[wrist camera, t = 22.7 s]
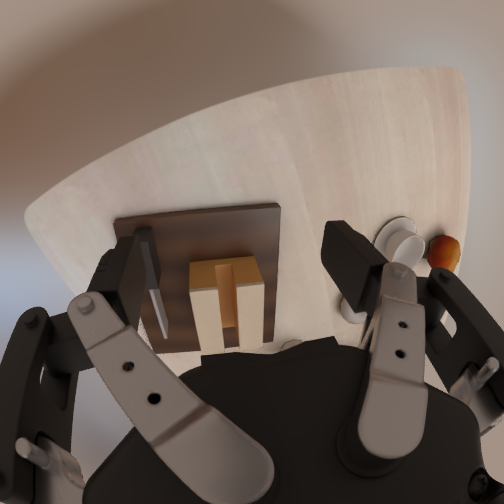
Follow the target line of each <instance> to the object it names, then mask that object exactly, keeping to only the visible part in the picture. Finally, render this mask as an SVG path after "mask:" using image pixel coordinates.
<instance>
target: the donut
mask: <svg viewBox="0 0 504 504" xmlns="http://www.w3.org/2000/svg"><path fill="white" fill-rule="evenodd" d="M341 314H342V316H343V318H344V319H345V320H346V321H347V322H349V323H352V324H362V323H364V321H365V318H366V315H367V313H366V312H361V313H356V314H355V313H354V312H353V310H352V309H351V307H350V305H349V304H348V302H347V301H346V299H345V298H343V300H342V303H341Z"/></svg>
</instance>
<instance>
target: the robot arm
mask: <svg viewBox="0 0 504 504" xmlns="http://www.w3.org/2000/svg"><path fill="white" fill-rule="evenodd" d="M321 260H322V264H323V266H324V267H325V269H326V270H327V272H328V273H329V275H330V276H331V278H332V279H333V281H334V282H335V284H336V285H337V287H338V288H339V290H340V291H341V293H342V295H343V296H344V298H345V299H346V301H347V302H348V304H349V305H350V307H351V309H352V310H353V312H354V313H355V314H356V313H361V312H366V313H367V315H366V318H365V321H364V325H363V329H362V334H361V338H360V342H359V346H358V348H357V347H352V346H346V345H338V343H337V341H336V339H335V337H334V336H331V337H326V338H321V339H316V340H311V341H305V342H302V343H300V344H298V345H295V346H293V347H291V348H288V349H286V350H283V351H281V352H278V353H275V354H254V353H241V352H232V353H222V354H212V355H201V365H202V366H199V367H196V368H193V369H191V370H189V371H187V372H185V373H183V374H181V375H180V376H179V377H177V376H176V375H175V374H174V373H173V372H172V371H171V370H170V369H169V368H168V367H167V366H166V364H165V363H164V362H163V361H162V360H161V359H160V358H159V357H158V356H157V355H156V354H155V353H154V351H153V350H152V349H151V348H150V347H149V346H148V345H147V344H146V342H145V341H144V340H143V339H142V338H141V337H140V335H139V334H138V333H137V331H138V325H139V318H140V312H141V306H142V301H143V295H144V290H145V285H146V267H145V263H144V258H143V254H142V249H141V244H140V240H139V237H138V235H130V236H121V237H120V238H119V240H118V242H117V244H116V246H115V249H109V250H108V251H107V252H106V253H105V254H104V255H103V256H102V257H101V260H100V262H99V264H98V266H97V268H96V270H95V273H94V275H93V277H92V280H91V282H90V284H89V287H88V289H87V291H86V292H85V293H82V294H80V295H78V296H76V297H75V298H74V299H73V300H72V301H71V302H70V304H69V306H68V309H67V312H65V313H62V314H58V315H55V316H51V317H49V315H48V313H47V311H46V310H45V309H44V308H42V307H33V308H31V309H29V310H27V311H25V312H24V313H23V314H22V315H21V316H20V318H19V319H18V321H17V323H16V326H15V328H14V330H13V333H12V335H11V338H10V340H9V342H8V345H7V348H6V351H5V353H4V356H3V359H2V362H1V364H0V502H2V503H5V504H504V484H502V483H500V482H498V481H496V480H494V479H493V478H492V477H490V476H489V474H488V473H487V471H486V469H485V467H484V463H483V458H482V452H481V443H480V436H483V435H484V434H486V433H487V432H488V431H489V430H491V429H492V428H493V427H495V426H496V425H497V424H498V423H499V422H501V421H502V420H503V419H504V331H503V330H502V329H501V327H500V326H499V325H498V324H497V322H496V321H495V320H494V319H493V317H492V316H491V315H490V314H489V313H488V311H487V310H486V309H485V308H484V306H483V305H482V304H481V303H480V302H479V301H478V300H477V298H476V297H475V296H474V295H473V294H472V293H471V291H470V290H468V288H467V287H466V286H465V285H464V284H463V283H462V282H461V281H460V279H459V278H458V277H457V276H456V275H455V274H454V273H452V272H451V271H450V270H448V269H445V268H442V267H434V268H432V269H431V272H430V274H429V277H418V276H416V275H415V273H414V271H413V270H412V269H411V268H409V267H408V266H406V265H404V264H401V263H398V262H389V261H388V260H387V259H386V258H385V257H384V256H383V255H382V254H381V252H380V251H379V250H378V249H377V248H375V246H374V245H373V244H372V243H370V241H369V240H368V239H367V238H366V237H365V236H364V235H362V234H360V233H358V232H357V231H355V230H353V229H352V228H351V227H350V226H349V225H348V224H347V223H346V222H345V221H344V220H338V221H327V222H326V225H325V229H324V236H323V242H322V248H321ZM446 310H447V311H448V313H449V314H450V315H451V316H452V318H453V319H454V320H455V322H456V326H457V330H456V333H455V335H454V336H453V338H452V337H451V335H450V334H449V333H448V331H447V330H446V328H445V327H444V326H443V324H442V323H441V321H440V320H441V318H442V316H443V314H444V312H445V311H446ZM425 353H426V355H427V356H428V358H429V360H430V361H431V363H432V365H433V366H434V368H435V370H436V371H437V373H438V375H439V377H440V379H441V380H442V382H443V384H444V386H445V388H446V389H447V391H448V393H449V394H447V393H445V392H443V391H441V390H439V389H437V388H435V387H433V386H431V385H429V384H427V383H425V382H424V366H425V365H424V364H425ZM42 367H44V371H43V375H42V379H41V383H40V374H41V371H42ZM93 367H95V368H96V370H97V372H98V373H99V375H100V376H101V378H102V380H103V381H104V383H105V385H106V386H107V388H108V389H109V390H110V392H111V394H112V395H113V397H114V398H115V400H116V401H117V402H118V404H119V405H120V407H121V408H122V410H123V411H124V412H125V414H126V415H127V417H128V418H129V419H130V421H131V422H132V423H133V424H134V427H133V428H132V429H131V430H130V431H129V433H128V434H127V435H126V436H125V437H124V439H123V440H122V441H121V442H120V443H119V445H118V446H117V447H116V448H115V449H114V450H113V451H112V453H111V454H110V455H109V456H108V457H107V458H106V459H105V461H104V462H103V463H102V464H101V465H100V466H99V468H98V469H97V470H96V471H95V472H94V473H93V474H92V476H91V477H90V478H89V480H88V481H87V483H86V484H85V482H84V480H83V475H82V473H81V468H80V465H79V463H78V461H77V459H76V458H75V457H74V456H73V455H72V454H71V436H72V422H73V411H74V402H75V395H76V388H77V381H78V375H79V371H83V370H86V369H90V368H93Z"/></svg>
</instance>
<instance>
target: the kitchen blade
mask: <svg viewBox="0 0 504 504" xmlns="http://www.w3.org/2000/svg"><path fill="white" fill-rule="evenodd" d="M133 235H138V237H139V240H140V244H141V249H142V254H143V258H144V263H145V267H146V285H145V290H149V291H150V294H151V298H152V301H153V304H154V308H155V311H156V314H157V317H158V321H159V324H160V327H161V330H162V333H163V336H164V339H166V338H167V336H168V320H167V317H166V313H165V309H164V306H163V302H162V298H161V295H160V291H159V283H160V276H161V268H160V264H159V259H158V254H157V249H156V244H155V239H154V234H153V229H152V227H146V228H138V229H135V230H134V232H133Z"/></svg>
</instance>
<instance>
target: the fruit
mask: <svg viewBox="0 0 504 504" xmlns="http://www.w3.org/2000/svg"><path fill="white" fill-rule="evenodd" d="M460 255H461V253H460V245H459V242H458V241H457V240H456V239H454V238H452V237H450V236H446V235H441V236H437V237H436V238H435V239H434V240H432V241H430V250H429V252H428V254H427V255H426V256H425V257H423V258H427V261H428V263H429V265H430V267H431V268H434V267H442V268H445V269H448V270H450V271H451V272H452V273H453V271H454V269H455V267H456V265H457V263H458V262H459V258H460Z"/></svg>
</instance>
